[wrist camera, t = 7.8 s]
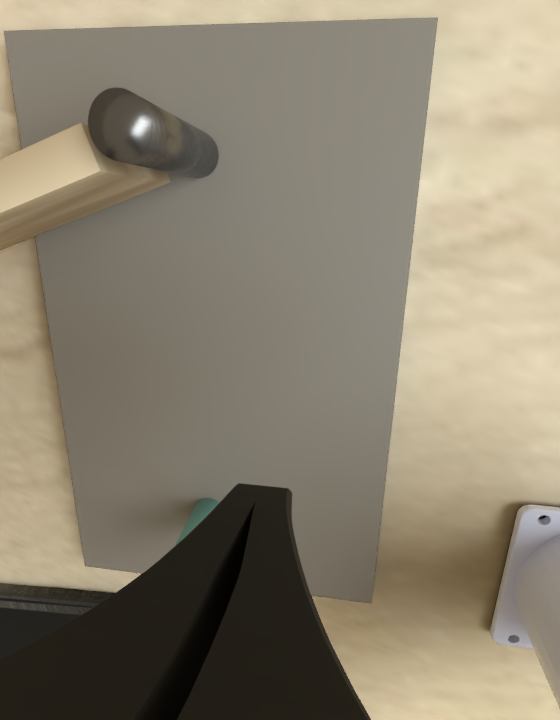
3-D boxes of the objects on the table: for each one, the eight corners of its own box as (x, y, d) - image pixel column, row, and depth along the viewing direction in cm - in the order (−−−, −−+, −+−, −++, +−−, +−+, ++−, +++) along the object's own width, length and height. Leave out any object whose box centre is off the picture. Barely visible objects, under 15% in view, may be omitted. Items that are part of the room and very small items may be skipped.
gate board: (432, 29, 15) (437, 17, 14) (370, 587, 23) (371, 603, 22) (22, 40, 17) (3, 30, 16) (94, 552, 25) (84, 566, 24)
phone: (150, 705, 27) (-67, 679, 29) (158, 686, 28) (-53, 662, 30) (131, 604, 24) (-105, 583, 27) (140, 588, 26) (-88, 569, 28)
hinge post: (225, 134, 17) (148, 87, 10) (226, 180, 17) (153, 162, 11) (184, 134, 17) (84, 88, 11) (186, 179, 18) (91, 161, 11)
